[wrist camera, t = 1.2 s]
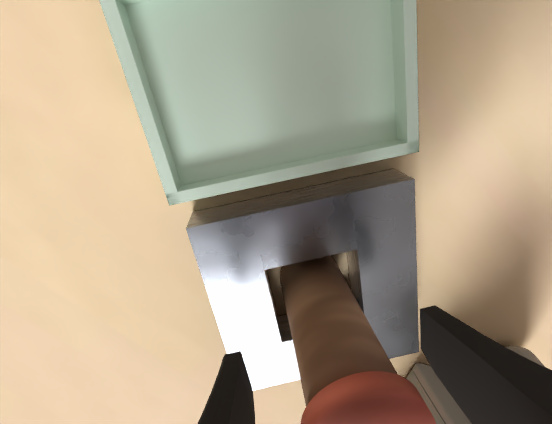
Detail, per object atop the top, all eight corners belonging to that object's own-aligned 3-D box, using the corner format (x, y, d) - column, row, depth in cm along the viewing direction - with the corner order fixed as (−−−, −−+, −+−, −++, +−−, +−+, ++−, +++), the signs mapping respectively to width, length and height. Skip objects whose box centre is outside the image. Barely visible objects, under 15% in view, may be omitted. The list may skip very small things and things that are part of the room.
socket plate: (393, 168, 15) (414, 179, 13) (401, 326, 19) (418, 351, 17) (192, 212, 15) (185, 228, 13) (240, 363, 19) (240, 393, 17)
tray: (394, -60, 12) (415, -80, 11) (402, 146, 15) (419, 151, 13) (110, -5, 12) (93, -18, 10) (176, 194, 15) (169, 205, 13)
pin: (338, 237, 16) (436, 382, 8) (346, 296, 18) (436, 470, 10) (268, 253, 16) (295, 416, 8) (281, 310, 18) (315, 499, 9)
